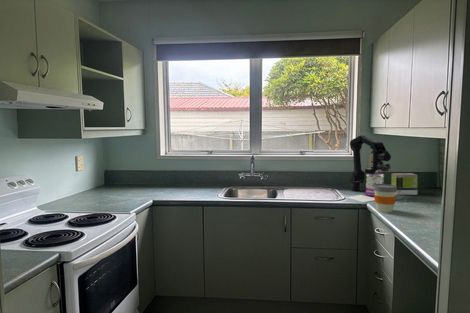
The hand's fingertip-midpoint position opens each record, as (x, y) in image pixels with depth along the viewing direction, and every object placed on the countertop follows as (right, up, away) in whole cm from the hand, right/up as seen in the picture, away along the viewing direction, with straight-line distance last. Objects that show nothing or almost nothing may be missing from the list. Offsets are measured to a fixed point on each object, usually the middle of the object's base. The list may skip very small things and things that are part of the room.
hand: (376, 181), depth 234 cm
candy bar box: (-2, -10, 0) cm, 10 cm away
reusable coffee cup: (-11, -14, -38) cm, 42 cm away
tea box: (+25, -10, +10) cm, 29 cm away
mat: (-13, -11, -6) cm, 18 cm away
